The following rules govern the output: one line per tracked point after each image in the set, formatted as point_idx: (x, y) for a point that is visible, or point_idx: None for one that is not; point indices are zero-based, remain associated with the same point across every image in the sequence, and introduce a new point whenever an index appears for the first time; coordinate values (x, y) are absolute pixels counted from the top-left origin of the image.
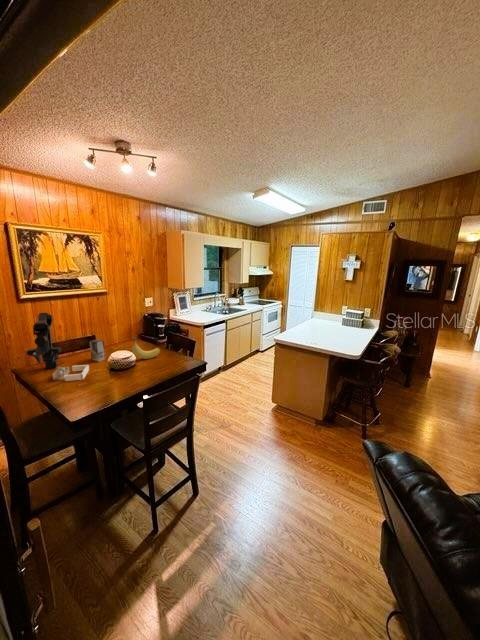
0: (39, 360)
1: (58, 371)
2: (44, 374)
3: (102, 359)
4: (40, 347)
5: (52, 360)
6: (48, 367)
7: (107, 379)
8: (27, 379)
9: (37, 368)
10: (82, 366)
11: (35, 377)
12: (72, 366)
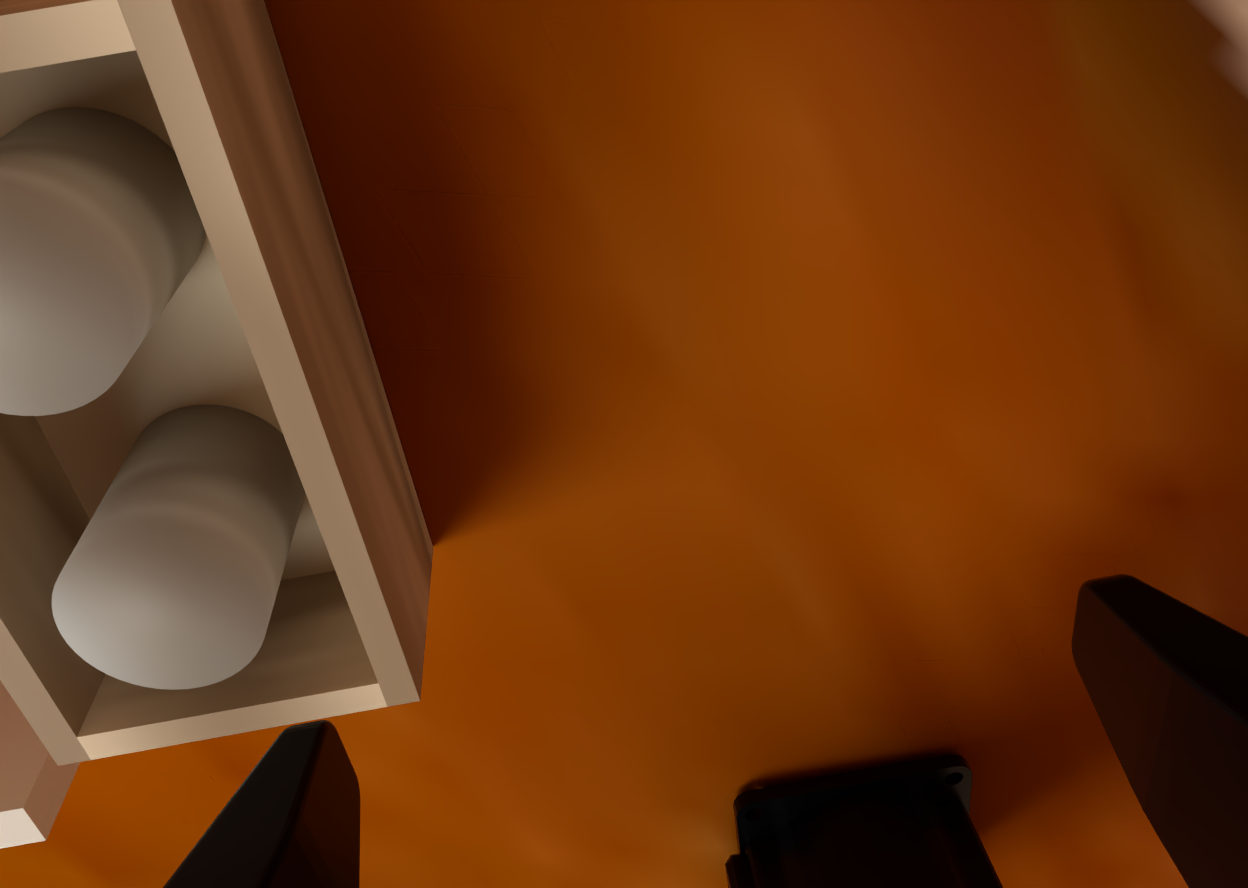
0: (1219, 783)
1: (60, 313)
2: (849, 489)
3: None
4: None
5: (210, 864)
6: (894, 810)
7: None
8: (1242, 151)
9: None
10: None
11: (1038, 294)
12: (10, 808)
